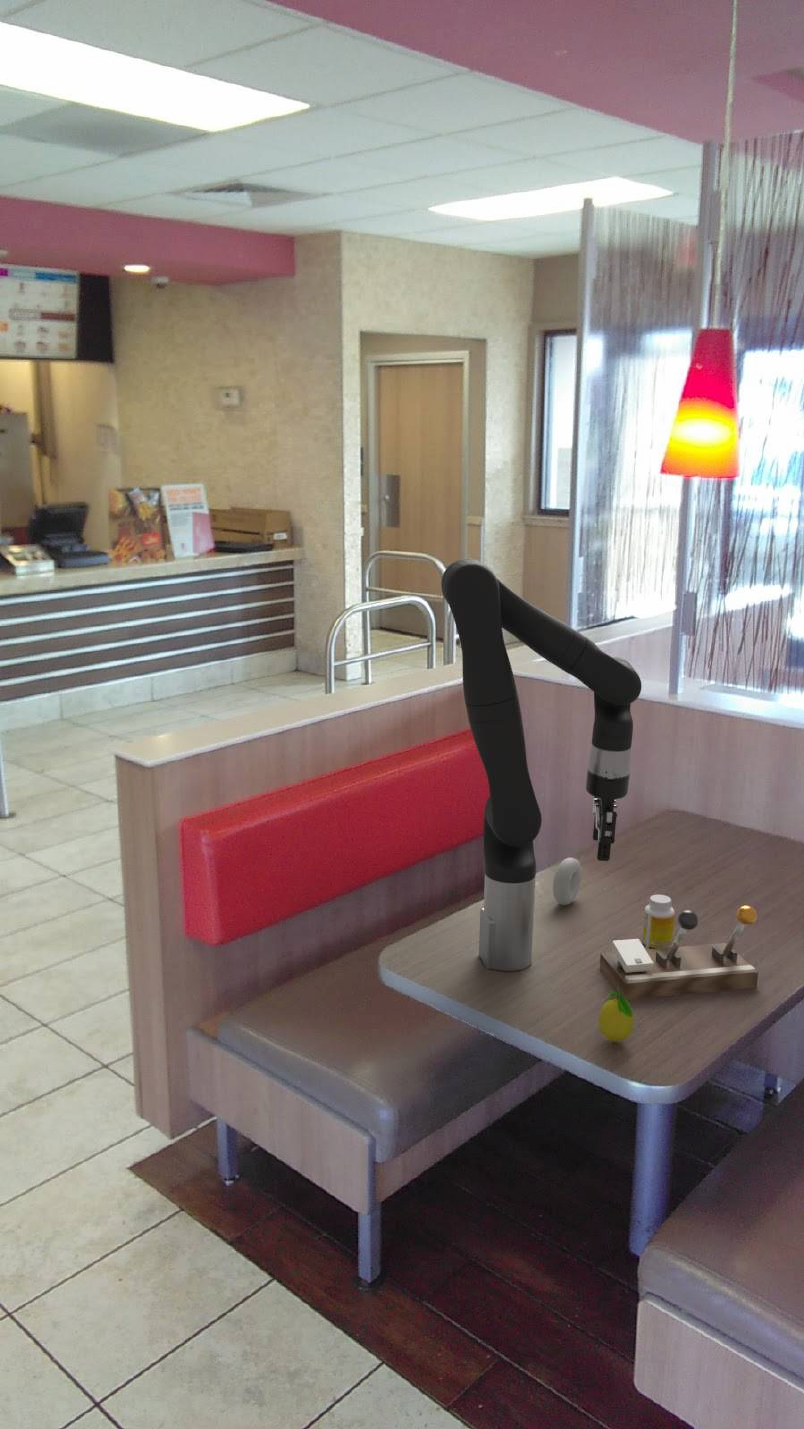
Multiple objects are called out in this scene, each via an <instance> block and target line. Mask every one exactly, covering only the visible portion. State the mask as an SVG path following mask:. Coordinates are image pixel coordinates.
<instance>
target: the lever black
mask: <svg viewBox="0 0 804 1429" xmlns="http://www.w3.org/2000/svg"><path fill="white" fill-rule="evenodd" d="M677 922H678V924H679V927H680V928H679V930H678V932H677V934H676V935H675V938H674V940H673V941H672V946H671V948H670V950H669V952H668V954H667V956H666V958H667V961H672V960H673V958H674V956H675V954H676V952H677V950H678V948H679V947H681V946H680V945H681V944H682V941H683V939H684V937H685V935H686V933H687V931H691V930H694V929H695V928H696V927H697V926H698V923H699V917H698V915H697V913H696V912H694V911H693V910H691V909H686V910H685V909H684V910H682V911H681V912H680V913H679V914H678V916H677Z"/></svg>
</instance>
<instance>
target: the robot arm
mask: <svg viewBox="0 0 804 1429" xmlns="http://www.w3.org/2000/svg"><path fill="white" fill-rule="evenodd" d="M440 584H441V593H442V595H443V598H444V599H445V601H446V604H448V606H449V609H450V611H451V614H452V617H453V620H454V623H455V628H456V632H457V634H458V638H459V642H460V648H461V656H462V659H461V660H462V661H461V662H462V688H463V696H464V703H465V708H466V714H467V719H468V722H469V725H470V726H469V727H470V731H471V734H472V737H473V740H474V744H475V746H476V749H477V752H478V754H479V757H480V759H481V762H482V764H483V767H484V770H485V773H486V778H487V783H488V788H489V796H488V798H487V799H486V802H485V805H484V812H483V814H484V816H483V858H484V888H483V889H484V892H483V893H484V894H483V907H481V908H480V911H479V937H478V939H479V941H478V956H479V958H480V959H481V961H482V962H483V964H484V966H485V967H486V969H487V970H498V971H505V972H515V971H521V970H525V969H526V968H528V967H530V965H531V963H532V960H533V959H532V958H533V957H532V956H533V940H534V939H533V936H534V916H535V914H534V913H535V894H536V893H535V892H536V873H537V871H536V870H537V861H536V856H535V850H534V840H535V839H536V838H537V837H538V835H539V833H540V831H541V827H542V821H543V819H542V818H543V817H542V813H541V809H540V806H539V803H538V800H537V798H536V794H535V791H534V787H533V782H532V780H531V776H530V772H529V766H528V761H527V760H528V759H527V748H526V739H525V732H524V724H523V717H522V710H521V705H520V699H519V694H518V689H517V685H516V681H515V675H514V672H513V669H512V665H511V661H510V658H509V655H508V651H507V647H506V644H505V639H504V632H503V630H505V631H507V632H508V633H510V635H513V636H514V637H515V638H516V639H518V640H519V641H520V642H522V643H523V644H524V645H525V646H527V647H528V648H529V649H530V650H532V651H533V652H535V653H536V654H537V655H539V656H540V657H542V659H544V660H546V661H548V662H549V663H551V664H552V665H553V666H555V667H556V668H558V669H560V670H561V671H563V672H564V673H566V674H568V675H571V676H572V677H574V678H576V679H577V680H578V681H580V682H581V683H582V684H583V685H585V686H586V687H588V689H589V690H591V691H592V692H593V702H594V703H593V705H594V707H593V708H594V720H593V725H592V735H591V746H590V750H589V752H588V754H589V755H588V762H587V763H588V764H587V771H586V772H587V773H586V782H585V784H586V785H585V790H586V792H587V793H588V794H589V795H591V796H593V800H592V801H593V802H592V803H593V804H592V805H593V807H592V820H593V827H592V828H593V829H592V840H593V841H597V842H598V843H597V850H596V851H597V852H596V858H597V860H598V862H599V861H601V862H602V861H603V862H608V861H610V858H611V848H612V845H613V844H614V843H615V837H616V836H615V835H616V826H617V817H618V805H616V804H617V802H616V801H617V800H618V799H623V798H625V797H626V796H627V794H628V793H629V785H630V784H629V783H630V775H631V765H632V742H633V733H634V732H633V731H634V720H633V717H632V714H631V704H633V703H634V702H635V701H636V700H637V699H638V698H639V697H640V694H641V692H642V688H643V687H642V681H641V677H640V675H639V673H638V672H637V671H636V670H635V668H634V667H633V666H632V664H631V663H630V662H629V661H628V660H626V659H624V658H622V657H617V656H613V657H612V656H610V655H609V654H607V653H606V652H604V651H603V650H602V649H600V647H599V646H598V645H597V644H596V643H595V642H594V641H592V640H591V639H590V638H588V637H587V636H586V635H584V634H582V633H581V632H579V631H578V630H576V629H574V628H572V627H571V626H569V625H568V624H566V623H565V622H563V621H561V620H560V619H558V618H556V617H554V616H552V615H550V614H549V613H547V612H545V611H543V610H542V609H541V608H539V607H537V606H535V605H533V604H531V603H530V602H528V601H527V600H525V599H524V598H523V597H521V596H519V594H517V593H515V592H514V591H512V590H511V589H510V588H509V587H508V586H506V584H504V583H503V582H502V581H501V580H500V579H499V578H498V577H497V576H496V575H495V573H494V571H493V570H492V569H491V568H490V567H489V566H488V565H487V564H485V563H484V562H482V561H480V560H478V559H474V558H461V559H458V560H455V561H454V562H452V563H451V564H450V565H448V566H447V568H445V569H444V572H443V573H442V577H441V582H440ZM606 832H609V833H608V834H609V835H606Z"/></svg>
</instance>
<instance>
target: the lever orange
mask: <svg viewBox="0 0 804 1429" xmlns="http://www.w3.org/2000/svg"><path fill="white" fill-rule="evenodd" d="M736 919H737V921H738V923H737V925H736V927H735V928H734V930H733V931H732V934H731V935H730V937H729V940H728V941H727V942H726V943H727V945H726V947H725V949H724V950H723V953H724V956H725V957H728V956H729V954H730V952H731V950H732V949H734V947H735V945H736V943H737V941H738V940H739V938H740V935H741V934H742V932H743V930H744V928H745V927H746V926H750V925H753V924H754V923H755V922H756V921H757V919H758V914H757V911H756V910H755V908H754V907H753V906H751V905H742V906H740V907H738V909H737V911H736Z"/></svg>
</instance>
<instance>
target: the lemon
mask: <svg viewBox="0 0 804 1429" xmlns="http://www.w3.org/2000/svg"><path fill="white" fill-rule="evenodd" d="M614 997H616V998H614ZM628 1000H629V999H628ZM628 1000H627V999H626V998H625V996H623V995H621V994H620V992H619V986H618V990H617V992H616V990H611V992H610V993H609V995H608V997H607V998H606V1000H605V1001H604V1002H605V1003H604V1004H603V1006H602V1008H601V1009H600V1012H599V1019H598V1027H599V1030H600V1032H601V1034H602V1036H603V1037H604V1038H606V1039H607V1040H609V1041H612V1042H613V1043H618V1042H621V1041H626V1039H628V1038H629V1037H630V1035H631V1034H632V1031H633V1029H634V1020H635V1018H634V1017H635V1016H634V1012H633V1010H632V1006H631V1004H630V1003H629V1001H628Z"/></svg>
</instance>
